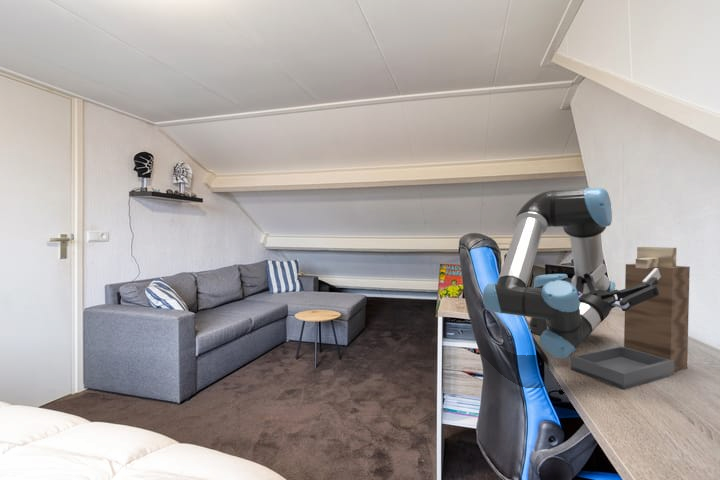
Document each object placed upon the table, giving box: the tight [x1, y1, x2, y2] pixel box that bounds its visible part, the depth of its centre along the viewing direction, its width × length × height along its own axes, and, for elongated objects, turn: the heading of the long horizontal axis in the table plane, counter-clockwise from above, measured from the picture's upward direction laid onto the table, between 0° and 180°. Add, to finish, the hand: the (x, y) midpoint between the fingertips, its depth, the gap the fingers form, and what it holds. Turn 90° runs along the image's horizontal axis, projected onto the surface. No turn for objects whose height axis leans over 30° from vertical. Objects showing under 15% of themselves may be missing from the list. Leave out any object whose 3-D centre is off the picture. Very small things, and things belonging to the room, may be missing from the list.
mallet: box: [635, 246, 677, 269], centre depth 101 cm, size 16×8×6 cm, turn 125°
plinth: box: [623, 263, 691, 373], centre depth 105 cm, size 9×12×30 cm
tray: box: [570, 345, 675, 391], centre depth 99 cm, size 23×14×4 cm, turn 114°
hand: (629, 269), depth 99 cm, fingers open, 13 cm apart
